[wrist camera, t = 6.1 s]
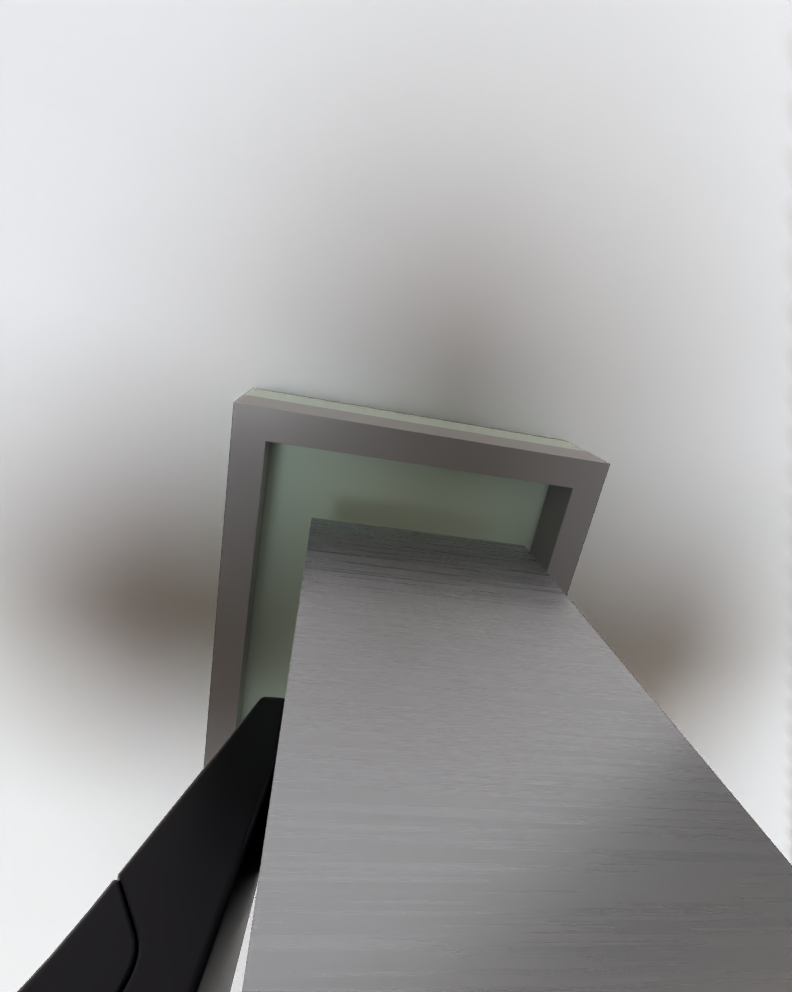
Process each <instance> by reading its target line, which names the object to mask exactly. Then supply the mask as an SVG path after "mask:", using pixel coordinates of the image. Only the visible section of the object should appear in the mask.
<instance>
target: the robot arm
mask: <svg viewBox="0 0 792 992" xmlns="http://www.w3.org/2000/svg"><path fill="white" fill-rule="evenodd" d="M284 702H285V698H280V697H266V696H265V697H262V698H260V699H259V701H258V702H257V703H256V704H255V705H254V707H253V708H252V709H251V710H250V712H249V713H248V714H247V715H246V717H245V718H244V719H243V720H242V722H241V723H240V724H239V725H238V727H237V728H236V729H235V730H234V732H233V733H232V734H231V735H230V736H229V738H228V739H227V740H226V741H225V743H224V744H223V745H222V746H221V748H220V749H219V750H218V751H217V753H216V754H215V755H214V756H213V758H212V759H211V760H210V761H209V763H208V764H207V765H206V766H205V767H204V769H203V770H202V771H201V772H200V774H199V775H198V776H197V777H196V779H195V780H194V781H193V782H192V784H191V785H190V786H189V787H188V789H187V790H186V791H185V792H184V794H183V795H182V796H181V797H180V798H179V800H178V801H177V802H176V803H175V805H174V806H173V807H172V808H171V810H170V811H169V812H168V813H167V815H166V816H165V817H164V818H163V820H162V821H161V822H160V823H159V825H158V826H157V827H156V828H155V829H154V831H153V832H152V833H151V834H150V836H149V837H148V838H147V839H146V841H145V842H144V843H143V844H142V846H141V847H140V848H139V849H138V851H137V852H136V853H135V854H134V856H133V857H132V858H131V859H130V860H129V862H128V863H127V864H126V865H125V867H124V868H123V869H122V870H121V872H120V873H119V874H118V880H114V881H112V882H111V884H110V885H109V886H108V887H107V889H106V890H105V891H104V892H103V894H102V895H101V896H100V897H99V898H98V900H97V901H96V902H95V903H94V905H93V906H92V907H91V908H90V910H89V911H88V912H87V913H86V914H85V916H84V917H83V918H82V919H81V920H80V921H79V923H78V924H77V925H76V926H75V927H74V929H73V930H72V931H71V932H70V933H69V934H68V936H67V937H66V938H65V939H64V940H63V942H62V943H61V944H60V945H59V946H58V947H57V949H56V950H55V951H54V952H53V953H52V955H51V956H50V957H49V958H48V959H47V960H46V961H45V962H44V963H43V965H42V966H41V967H40V968H39V969H38V970H37V971H36V972H35V973H34V974H33V975H32V976H31V978H30V979H29V980H28V981H27V982H26V983H25V984H24V985H23V986H22V987H21V988H20V989H19V991H18V992H230V990H231V986H232V982H233V978H234V974H235V970H236V966H237V962H238V958H239V954H240V950H241V946H242V942H243V938H244V934H245V930H246V926H247V922H248V918H249V914H250V910H251V906H252V903H253V899H254V895H255V891H256V887H257V883H258V879H259V873H260V866H261V860H262V853H263V846H264V839H265V832H266V825H267V819H268V812H269V805H270V798H271V791H272V784H273V778H274V771H275V764H276V757H277V750H278V743H279V737H280V730H281V723H282V716H283V709H284Z"/></svg>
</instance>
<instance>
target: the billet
mask: <svg viewBox="0 0 792 992" xmlns="http://www.w3.org/2000/svg"><path fill="white" fill-rule="evenodd" d="M242 992H792V865H791V864H790V863H789V862H788V860H787V859H786V858H785V857H784V856H783V854H782V853H781V852H780V851H779V850H778V848H777V847H776V846H775V845H774V844H773V842H772V841H771V840H770V839H769V838H768V836H767V835H766V834H765V833H764V832H763V831H762V829H761V828H760V827H759V826H758V825H757V823H756V822H755V821H754V820H753V819H752V817H751V816H750V815H749V814H748V813H747V811H746V810H745V809H744V808H743V807H742V805H741V804H740V803H739V802H738V801H737V799H736V798H735V797H734V796H733V795H732V793H731V792H730V791H729V790H728V789H727V787H726V786H725V785H724V784H723V783H722V781H721V780H720V779H719V778H718V777H717V775H716V774H715V773H714V772H713V771H712V769H711V768H710V767H709V766H708V765H707V763H706V762H705V761H704V760H703V759H702V757H701V756H700V755H699V754H698V753H697V751H696V750H695V749H694V748H693V747H692V746H691V744H690V743H689V742H688V741H687V740H686V738H685V737H684V736H683V735H682V734H681V732H680V731H679V730H678V729H677V728H676V726H675V725H674V724H673V723H672V722H671V720H670V719H669V718H668V717H667V716H666V714H665V713H664V712H663V711H662V710H661V708H660V707H659V706H658V705H657V704H656V702H655V701H654V700H653V699H652V698H651V696H650V695H649V694H648V693H647V692H646V690H645V689H644V688H643V687H642V686H641V684H640V683H639V682H638V681H637V680H636V678H635V677H634V676H633V675H632V674H631V672H630V671H629V670H628V669H627V668H626V667H625V665H624V664H623V663H622V662H621V661H620V659H619V658H618V657H617V656H616V655H615V653H614V652H613V651H612V650H611V649H610V647H609V646H608V645H607V644H606V643H605V641H604V640H603V639H602V638H601V637H600V635H599V634H598V633H597V632H596V631H595V629H594V628H593V627H592V626H591V625H590V623H589V622H588V621H587V620H586V619H585V617H584V616H583V615H582V614H581V613H580V611H579V610H578V609H577V608H576V607H575V605H574V604H573V603H572V602H571V601H570V599H569V598H568V597H567V596H566V595H565V593H564V592H563V591H562V590H561V589H560V588H559V586H558V585H557V584H556V583H555V582H554V580H553V579H552V578H551V577H550V576H549V574H548V573H547V572H546V571H545V570H544V568H543V567H542V566H541V565H540V564H539V562H538V561H537V560H536V559H535V558H534V556H533V555H532V554H531V553H530V552H529V550H528V549H527V548H526V547H525V546H524V545H517V544H510V543H502V542H495V541H487V540H479V539H472V538H464V537H457V536H449V535H441V534H434V533H426V532H418V531H411V530H403V529H396V528H388V527H380V526H373V525H365V524H358V523H350V522H342V521H335V520H327V519H320V518H311V525H310V532H309V538H308V545H307V552H306V559H305V566H304V573H303V579H302V586H301V593H300V600H299V607H298V614H297V620H296V627H295V634H294V641H293V648H292V655H291V661H290V668H289V675H288V682H287V689H286V696H285V702H284V709H283V716H282V723H281V730H280V737H279V743H278V750H277V757H276V764H275V771H274V778H273V784H272V791H271V798H270V805H269V812H268V819H267V825H266V832H265V839H264V846H263V853H262V860H261V866H260V873H259V880H258V887H257V894H256V901H255V907H254V914H253V921H252V928H251V935H250V942H249V948H248V955H247V962H246V969H245V976H244V983H243V989H242Z"/></svg>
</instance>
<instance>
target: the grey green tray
mask: <svg viewBox="0 0 792 992" xmlns="http://www.w3.org/2000/svg"><path fill="white" fill-rule="evenodd" d="M609 466H610V464H609V463H607V462H605V461H604V460H602V459H600V458H598V457H596V456H594V455H592V454H590V453H588V452H586V451H584V450H582V449H580V448H579V447H577V446H575V445H573V444H571V443H569V442H567V441H563V440H557V439H551V438H545V437H539V436H533V435H527V434H521V433H515V432H509V431H504V430H498V429H492V428H486V427H480V426H474V425H468V424H462V423H456V422H450V421H444V420H439V419H433V418H427V417H421V416H415V415H409V414H403V413H397V412H391V411H385V410H379V409H374V408H368V407H362V406H356V405H350V404H344V403H338V402H332V401H326V400H320V399H314V398H309V397H303V396H297V395H291V394H285V393H279V392H273V391H267V390H261V389H255V388H252V389H251V390H250V391H248V392H247V393H245V394H244V395H243V396H241V397H240V398H239V399H237V400H236V401H235V402H234V404H233V417H232V429H231V441H230V453H229V466H228V478H227V490H226V502H225V514H224V527H223V539H222V551H221V563H220V576H219V588H218V600H217V612H216V625H215V637H214V649H213V661H212V673H211V686H210V698H209V710H208V722H207V735H206V747H205V759H204V767H205V766H206V765H207V764H208V763H209V761H210V760H211V759H212V758H213V756H214V755H215V754H216V753H217V751H218V750H219V749H220V748H221V746H222V745H223V744H224V743H225V741H226V740H227V739H228V738H229V736H230V735H231V734H232V733H233V732H234V730H235V729H236V728H237V727H238V725H239V724H240V723H241V722H242V720H243V719H244V718H245V717H246V715H247V714H248V713H249V712H250V710H251V709H252V708H253V707H254V705H255V704H256V703H257V702H258V701H259V699H260V698H262V697H265V696H266V697H280V698H285V696H286V689H287V682H288V675H289V668H290V661H291V655H292V648H293V641H294V634H295V627H296V620H297V614H298V607H299V600H300V593H301V586H302V579H303V573H304V566H305V559H306V552H307V545H308V538H309V532H310V525H311V518H320V519H327V520H335V521H342V522H350V523H358V524H365V525H373V526H380V527H388V528H396V529H403V530H411V531H418V532H426V533H434V534H441V535H449V536H457V537H464V538H472V539H479V540H487V541H495V542H502V543H510V544H517V545H524V546H525V547H526V548H527V549H528V550H529V552H530V553H531V554H532V555H533V556H534V558H535V559H536V560H537V561H538V562H539V564H540V565H541V566H542V567H543V568H544V570H545V571H546V572H547V573H548V574H549V576H550V577H551V578H552V579H553V580H554V582H555V583H556V584H557V585H558V586H559V588H560V589H561V590H562V591H563V592H564V593H565V595H566V596H567V593H568V590H569V586H570V583H571V580H572V577H573V574H574V571H575V568H576V565H577V562H578V559H579V556H580V553H581V550H582V547H583V544H584V541H585V538H586V535H587V532H588V529H589V526H590V523H591V520H592V517H593V514H594V511H595V508H596V505H597V502H598V499H599V496H600V493H601V490H602V487H603V484H604V481H605V478H606V475H607V472H608V469H609Z"/></svg>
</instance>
